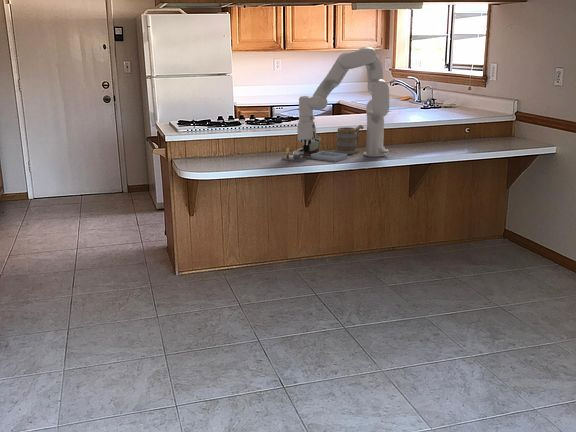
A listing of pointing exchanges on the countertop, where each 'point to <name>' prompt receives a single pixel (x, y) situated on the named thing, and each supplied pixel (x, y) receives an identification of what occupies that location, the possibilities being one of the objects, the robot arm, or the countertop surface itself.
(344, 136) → the tankard
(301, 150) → the crank lever
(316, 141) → the food container
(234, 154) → the countertop surface
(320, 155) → the tray
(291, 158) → the crank base
